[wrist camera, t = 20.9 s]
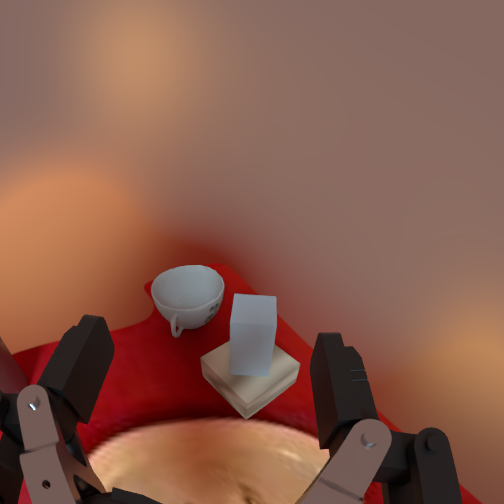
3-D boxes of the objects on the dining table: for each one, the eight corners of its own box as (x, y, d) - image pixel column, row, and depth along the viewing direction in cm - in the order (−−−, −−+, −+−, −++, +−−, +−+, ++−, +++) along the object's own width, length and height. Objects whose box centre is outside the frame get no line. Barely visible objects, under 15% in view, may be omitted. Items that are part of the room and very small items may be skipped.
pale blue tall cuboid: (230, 374, 38) (230, 322, 33) (233, 346, 42) (234, 293, 37) (268, 376, 38) (276, 325, 33) (269, 348, 42) (276, 296, 37)
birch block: (202, 377, 43) (200, 357, 40) (251, 347, 49) (252, 326, 46) (246, 420, 37) (247, 403, 34) (295, 383, 43) (300, 363, 40)
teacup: (170, 293, 60) (166, 259, 55) (230, 301, 58) (230, 267, 54) (142, 346, 47) (132, 311, 43) (212, 360, 45) (210, 325, 41)
